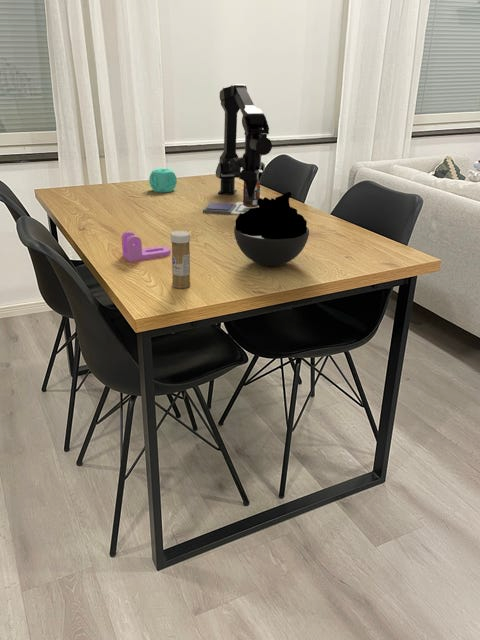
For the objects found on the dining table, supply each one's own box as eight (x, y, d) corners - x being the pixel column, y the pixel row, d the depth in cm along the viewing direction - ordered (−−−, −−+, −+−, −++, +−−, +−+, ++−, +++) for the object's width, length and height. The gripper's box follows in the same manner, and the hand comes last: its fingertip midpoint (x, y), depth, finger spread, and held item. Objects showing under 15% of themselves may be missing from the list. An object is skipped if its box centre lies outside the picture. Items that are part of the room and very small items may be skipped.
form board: (236, 203, 219) (236, 201, 219) (273, 205, 217) (273, 204, 217) (227, 213, 205) (227, 212, 205) (267, 216, 203) (267, 215, 203)
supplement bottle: (259, 208, 208) (260, 176, 203) (242, 207, 208) (243, 175, 203) (259, 204, 213) (260, 172, 208) (243, 203, 213) (243, 172, 209)
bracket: (129, 262, 158) (127, 237, 155) (122, 256, 163) (121, 232, 160) (173, 255, 164) (172, 231, 161) (166, 249, 169) (165, 226, 166)
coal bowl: (252, 281, 147) (254, 208, 139) (222, 256, 163) (222, 190, 155) (320, 271, 154) (326, 201, 146) (285, 249, 171) (289, 185, 163)
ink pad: (210, 205, 216) (210, 201, 215) (236, 206, 214) (236, 203, 214) (202, 212, 206) (202, 208, 206) (230, 214, 205) (230, 210, 204)
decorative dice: (177, 190, 237) (176, 170, 233) (162, 193, 231) (161, 173, 228) (164, 187, 241) (163, 167, 238) (149, 190, 236) (148, 170, 233)
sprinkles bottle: (168, 285, 143) (166, 232, 137) (182, 280, 146) (180, 229, 141) (181, 290, 140) (179, 236, 135) (194, 285, 144) (194, 232, 138)
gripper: (235, 144, 212) (234, 187, 219) (224, 153, 195) (224, 199, 202) (265, 146, 210) (264, 189, 217) (257, 155, 193) (255, 201, 200)
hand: (251, 194), depth 209 cm, fingers closed on supplement bottle, 6 cm apart
